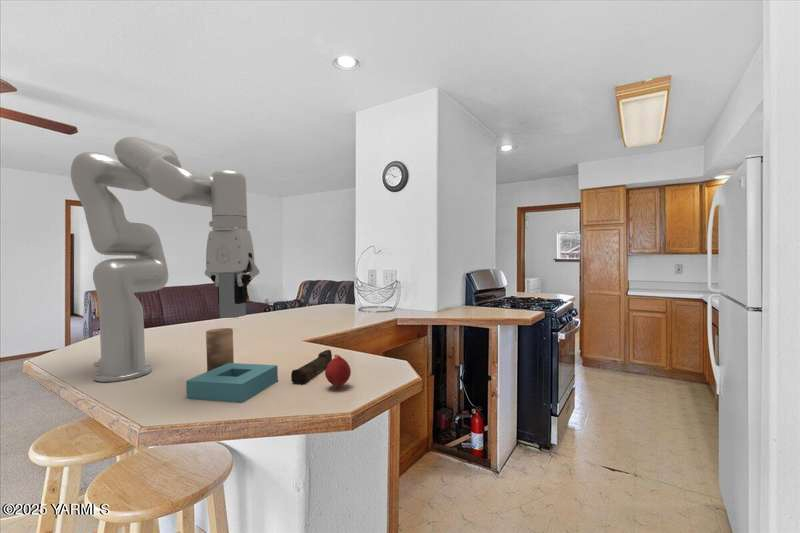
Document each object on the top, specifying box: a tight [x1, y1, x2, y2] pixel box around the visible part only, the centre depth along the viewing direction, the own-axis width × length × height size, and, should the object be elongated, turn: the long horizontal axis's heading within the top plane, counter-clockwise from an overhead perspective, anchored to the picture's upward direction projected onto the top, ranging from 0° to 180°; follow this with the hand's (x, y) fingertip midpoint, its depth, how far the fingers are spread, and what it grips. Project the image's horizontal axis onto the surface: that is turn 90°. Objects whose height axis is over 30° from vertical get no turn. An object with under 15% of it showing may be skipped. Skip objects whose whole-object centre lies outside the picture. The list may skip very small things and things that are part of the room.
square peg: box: [218, 273, 247, 319], centre depth 87 cm, size 4×4×12 cm
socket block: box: [185, 362, 279, 403], centre depth 87 cm, size 14×14×4 cm
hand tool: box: [290, 349, 333, 385], centre depth 99 cm, size 19×4×5 cm, turn 163°
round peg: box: [205, 327, 235, 372], centre depth 98 cm, size 6×6×12 cm
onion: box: [324, 353, 352, 389], centre depth 87 cm, size 6×6×8 cm
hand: (232, 302), depth 87 cm, fingers closed on square peg, 4 cm apart
